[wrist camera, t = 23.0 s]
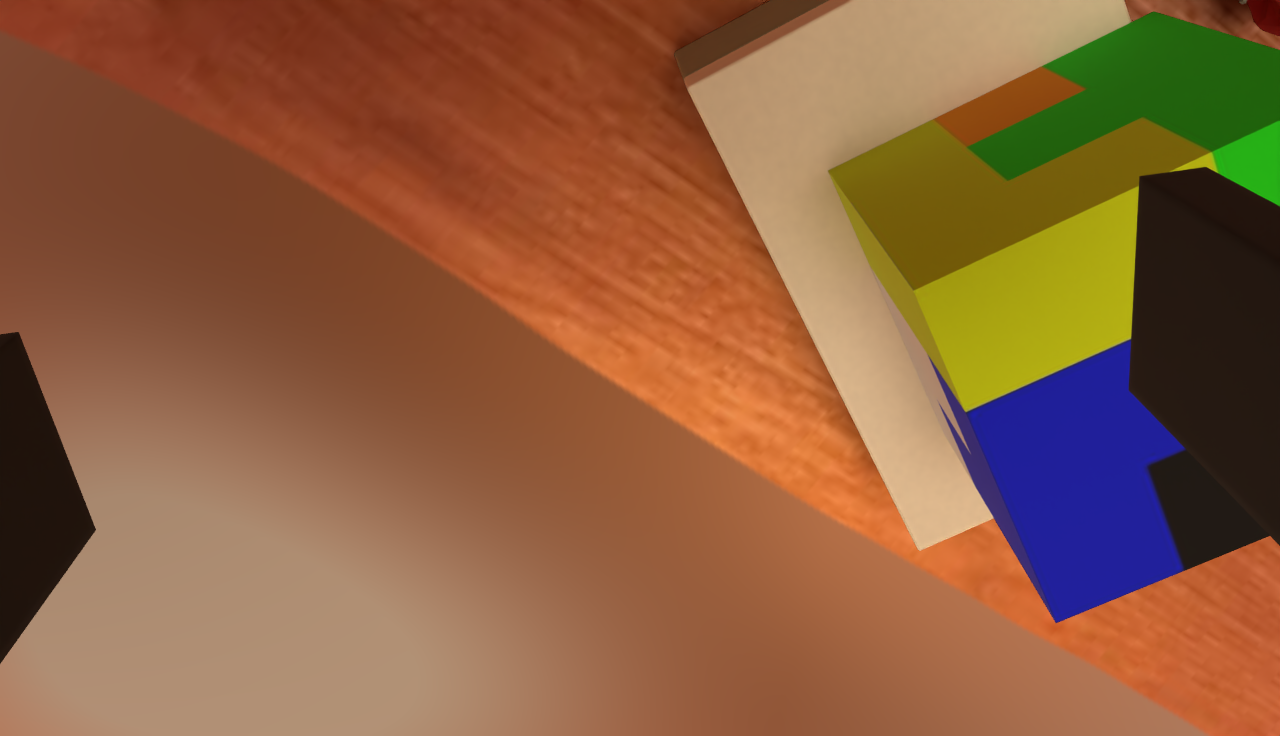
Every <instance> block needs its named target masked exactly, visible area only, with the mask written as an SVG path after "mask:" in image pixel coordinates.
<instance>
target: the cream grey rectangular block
mask: <svg viewBox="0 0 1280 736" xmlns="http://www.w3.org/2000/svg"><path fill="white" fill-rule="evenodd" d="M1129 23H1131V19H1130V16H1129V13H1128V10H1127V7H1126V4H1125V1H1124V0H770V1H768V2H766V3H765V4H763V5H761V6H759V7H757V8H755V9H753V10H752V11H750V12H748V13H746V14H744V15H742V16H740V17H739V18H737V19H735V20H733V21H731V22H729V23H727V24H726V25H724V26H722V27H720V28H718V29H716V30H714V31H713V32H711V33H709V34H707V35H705V36H703V37H701V38H700V39H698V40H696V41H694V42H692V43H690V44H688V45H686V46H685V47H683V48H681V49H679V50H677V51H675V53H674V56H675V59H676V61H677V64H678V67H679V69H680V72H681V74H682V77H683V80H684V82H685V85H686V88H687V90H688V92H689V94H690V96H691V98H692V100H693V102H694V104H695V106H696V108H697V110H698V112H699V114H700V116H701V118H702V120H703V122H704V124H705V126H706V128H707V130H708V132H709V134H710V136H711V138H712V140H713V142H714V144H715V146H716V148H717V150H718V152H719V154H720V156H721V158H722V160H723V162H724V164H725V166H726V168H727V170H728V172H729V174H730V176H731V178H732V180H733V182H734V184H735V186H736V188H737V190H738V192H739V194H740V196H741V198H742V200H743V202H744V204H745V206H746V208H747V210H748V212H749V214H750V216H751V218H752V220H753V222H754V224H755V226H756V228H757V230H758V232H759V234H760V236H761V238H762V240H763V242H764V244H765V246H766V248H767V250H768V252H769V254H770V256H771V258H772V260H773V262H774V264H775V266H776V268H777V270H778V272H779V274H780V276H781V278H782V280H783V282H784V284H785V286H786V288H787V290H788V292H789V294H790V296H791V298H792V300H793V302H794V304H795V306H796V308H797V310H798V312H799V314H800V316H801V318H802V320H803V322H804V324H805V326H806V328H807V330H808V332H809V334H810V336H811V338H812V340H813V342H814V344H815V346H816V348H817V350H818V352H819V354H820V356H821V358H822V360H823V362H824V364H825V366H826V368H827V370H828V372H829V374H830V375H831V377H832V379H833V381H834V383H835V385H836V387H837V389H838V391H839V393H840V395H841V397H842V399H843V401H844V403H845V405H846V407H847V409H848V411H849V413H850V415H851V417H852V419H853V421H854V423H855V425H856V427H857V429H858V431H859V433H860V435H861V437H862V439H863V441H864V443H865V445H866V447H867V449H868V451H869V453H870V455H871V457H872V459H873V461H874V463H875V465H876V467H877V469H878V471H879V473H880V475H881V477H882V479H883V481H884V483H885V485H886V487H887V489H888V491H889V493H890V495H891V497H892V499H893V501H894V503H895V505H896V507H897V509H898V511H899V513H900V515H901V517H902V519H903V521H904V523H905V525H906V527H907V529H908V531H909V533H910V535H911V537H912V539H913V541H914V543H915V545H916V547H917V549H918V550H919V551H920V550H923V549H925V548H928V547H930V546H932V545H934V544H937V543H939V542H941V541H943V540H946V539H948V538H950V537H952V536H955V535H957V534H959V533H962V532H964V531H966V530H968V529H971V528H973V527H975V526H977V525H980V524H982V523H984V522H986V521H989V520H991V519H993V516H992V514H991V512H990V511H989V509H988V507H987V506H986V504H985V502H984V501H983V499H982V497H981V496H980V494H979V492H978V490H977V489H976V487H975V485H974V484H973V482H972V480H971V479H970V477H969V475H968V474H967V472H966V470H965V469H964V467H963V465H962V463H961V462H960V460H959V458H958V457H957V455H956V453H955V452H954V450H953V448H952V447H951V445H950V443H949V442H948V440H947V438H946V436H945V434H944V432H943V430H942V428H941V425H940V423H939V421H938V419H937V416H936V414H935V412H934V410H933V407H932V405H931V403H930V401H929V398H928V396H927V394H926V391H925V389H924V387H923V385H922V382H921V380H920V378H919V376H918V373H917V371H916V369H915V367H914V364H913V362H912V360H911V358H910V355H909V353H908V351H907V349H906V346H905V344H904V342H903V340H902V337H901V335H900V333H899V330H898V328H897V326H896V324H895V321H894V319H893V317H892V315H891V312H890V310H889V308H888V306H887V303H886V301H885V299H884V297H883V294H882V292H881V290H880V288H879V285H878V283H877V281H876V279H875V276H874V274H873V272H872V269H871V267H870V265H869V263H868V260H867V258H866V256H865V254H864V251H863V249H862V247H861V245H860V242H859V240H858V238H857V236H856V233H855V231H854V229H853V227H852V224H851V222H850V220H849V217H848V215H847V213H846V211H845V208H844V206H843V204H842V202H841V199H840V197H839V195H838V193H837V190H836V188H835V186H834V184H833V181H832V179H831V177H830V175H829V172H828V170H830V169H832V168H834V167H836V166H838V165H841V164H843V163H845V162H847V161H849V160H851V159H853V158H855V157H857V156H859V155H861V154H863V153H865V152H867V151H869V150H871V149H873V148H875V147H877V146H879V145H881V144H883V143H886V142H888V141H890V140H892V139H894V138H896V137H898V136H900V135H902V134H904V133H906V132H908V131H910V130H912V129H914V128H916V127H918V126H920V125H922V124H924V123H926V122H928V121H931V120H933V119H935V118H937V117H939V116H941V115H943V114H945V113H947V112H949V111H951V110H953V109H955V108H957V107H959V106H961V105H963V104H965V103H967V102H969V101H971V100H973V99H976V98H978V97H980V96H982V95H984V94H986V93H988V92H990V91H992V90H994V89H996V88H998V87H1000V86H1002V85H1004V84H1006V83H1008V82H1010V81H1012V80H1014V79H1016V78H1018V77H1021V76H1023V75H1025V74H1027V73H1029V72H1031V71H1033V70H1035V69H1037V68H1039V67H1041V66H1043V65H1045V64H1047V63H1049V62H1051V61H1053V60H1055V59H1057V58H1059V57H1061V56H1063V55H1066V54H1068V53H1070V52H1072V51H1074V50H1076V49H1078V48H1080V47H1082V46H1084V45H1086V44H1088V43H1090V42H1092V41H1094V40H1096V39H1098V38H1100V37H1102V36H1104V35H1106V34H1108V33H1111V32H1113V31H1115V30H1117V29H1119V28H1121V27H1123V26H1125V25H1127V24H1129Z"/></svg>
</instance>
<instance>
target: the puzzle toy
mask: <svg viewBox="0 0 1280 736" xmlns="http://www.w3.org/2000/svg"><path fill="white" fill-rule="evenodd" d="M1201 167H1207V168H1209V169H1211V170H1213V171H1215V172H1217V173H1219V174H1220V175H1222V176H1224V177H1226V178H1228V179H1230V180H1232V181H1234V182H1235V183H1237V184H1239V185H1241V186H1243V187H1245V188H1247V189H1248V190H1250V191H1252V192H1254V193H1256V194H1258V195H1260V196H1262V197H1263V198H1265V199H1267V200H1269V201H1271V202H1273V203H1275V204H1276V205H1278V206H1280V50H1278V49H1275V48H1271V47H1268V46H1265V45H1261V44H1258V43H1255V42H1252V41H1248V40H1245V39H1242V38H1239V37H1235V36H1232V35H1229V34H1226V33H1222V32H1219V31H1216V30H1212V29H1209V28H1206V27H1203V26H1199V25H1196V24H1193V23H1190V22H1186V21H1183V20H1180V19H1177V18H1173V17H1170V16H1167V15H1164V14H1160V13H1157V12H1154V11H1153V12H1151V13H1149V14H1147V15H1145V16H1143V17H1141V18H1139V19H1137V20H1135V21H1133V22H1131V23H1129V24H1127V25H1125V26H1123V27H1121V28H1119V29H1117V30H1115V31H1113V32H1111V33H1108V34H1106V35H1104V36H1102V37H1100V38H1098V39H1096V40H1094V41H1092V42H1090V43H1088V44H1086V45H1084V46H1082V47H1080V48H1078V49H1076V50H1074V51H1072V52H1070V53H1068V54H1066V55H1063V56H1061V57H1059V58H1057V59H1055V60H1053V61H1051V62H1049V63H1047V64H1045V65H1043V66H1041V67H1039V68H1037V69H1035V70H1033V71H1031V72H1029V73H1027V74H1025V75H1023V76H1021V77H1018V78H1016V79H1014V80H1012V81H1010V82H1008V83H1006V84H1004V85H1002V86H1000V87H998V88H996V89H994V90H992V91H990V92H988V93H986V94H984V95H982V96H980V97H978V98H976V99H973V100H971V101H969V102H967V103H965V104H963V105H961V106H959V107H957V108H955V109H953V110H951V111H949V112H947V113H945V114H943V115H941V116H939V117H937V118H935V119H933V120H931V121H928V122H926V123H924V124H922V125H920V126H918V127H916V128H914V129H912V130H910V131H908V132H906V133H904V134H902V135H900V136H898V137H896V138H894V139H892V140H890V141H888V142H886V143H883V144H881V145H879V146H877V147H875V148H873V149H871V150H869V151H867V152H865V153H863V154H861V155H859V156H857V157H855V158H853V159H851V160H849V161H847V162H845V163H843V164H841V165H838V166H836V167H834V168H832V169H830V170H828V172H829V175H830V177H831V179H832V181H833V184H834V186H835V188H836V190H837V193H838V195H839V197H840V199H841V202H842V204H843V206H844V208H845V211H846V213H847V215H848V217H849V220H850V222H851V224H852V227H853V229H854V231H855V233H856V236H857V238H858V240H859V242H860V245H861V247H862V249H863V251H864V254H865V256H866V258H867V260H868V263H869V265H870V267H871V269H872V272H873V274H874V276H875V279H876V281H877V283H878V285H879V288H880V290H881V292H882V294H883V297H884V299H885V301H886V303H887V306H888V308H889V310H890V312H891V315H892V317H893V319H894V321H895V324H896V326H897V328H898V330H899V333H900V335H901V337H902V340H903V342H904V344H905V346H906V349H907V351H908V353H909V355H910V358H911V360H912V362H913V364H914V367H915V369H916V371H917V373H918V376H919V378H920V380H921V382H922V385H923V387H924V389H925V391H926V394H927V396H928V398H929V401H930V403H931V405H932V407H933V410H934V412H935V414H936V416H937V419H938V421H939V423H940V425H941V428H942V430H943V432H944V434H945V436H946V438H947V440H948V442H949V443H950V445H951V447H952V448H953V450H954V452H955V453H956V455H957V457H958V458H959V460H960V462H961V463H962V465H963V467H964V469H965V470H966V472H967V474H968V475H969V477H970V479H971V480H972V482H973V484H974V485H975V487H976V489H977V490H978V492H979V494H980V496H981V497H982V499H983V501H984V502H985V504H986V506H987V507H988V509H989V511H990V512H991V514H992V516H993V518H994V519H995V521H996V523H997V524H998V526H999V528H1000V529H1001V531H1002V533H1003V534H1004V536H1005V538H1006V539H1007V541H1008V543H1009V545H1010V546H1011V548H1012V550H1013V551H1014V553H1015V555H1016V556H1017V558H1018V560H1019V561H1020V563H1021V565H1022V567H1023V568H1024V570H1025V572H1026V573H1027V575H1028V577H1029V578H1030V580H1031V582H1032V583H1033V585H1034V587H1035V588H1036V590H1037V592H1038V594H1039V595H1040V597H1041V599H1042V600H1043V602H1044V604H1045V605H1046V607H1047V609H1048V610H1049V612H1050V614H1051V616H1052V617H1053V619H1054V621H1055V622H1056V623H1058V622H1060V621H1062V620H1065V619H1067V618H1070V617H1072V616H1075V615H1077V614H1080V613H1082V612H1084V611H1087V610H1089V609H1092V608H1094V607H1097V606H1099V605H1102V604H1104V603H1106V602H1109V601H1111V600H1114V599H1116V598H1119V597H1121V596H1124V595H1126V594H1129V593H1131V592H1133V591H1136V590H1138V589H1141V588H1143V587H1146V586H1148V585H1151V584H1153V583H1155V582H1158V581H1160V580H1163V579H1165V578H1168V577H1170V576H1173V575H1175V574H1177V573H1180V572H1182V571H1185V570H1187V569H1190V568H1192V567H1195V566H1197V565H1199V564H1202V563H1204V562H1207V561H1209V560H1212V559H1214V558H1217V557H1219V556H1222V555H1224V554H1226V553H1229V552H1231V551H1234V550H1236V549H1239V548H1241V547H1244V546H1246V545H1248V544H1251V543H1253V542H1256V541H1258V540H1261V539H1263V538H1266V537H1268V536H1270V535H1269V534H1268V533H1267V532H1266V531H1265V530H1264V529H1263V528H1262V527H1261V526H1260V525H1259V524H1258V523H1257V522H1256V521H1255V520H1254V519H1253V518H1252V517H1251V516H1250V515H1249V514H1248V513H1247V512H1246V510H1245V509H1244V508H1243V507H1242V506H1241V505H1240V504H1239V503H1238V502H1237V501H1236V500H1235V499H1234V498H1233V497H1232V496H1231V495H1230V494H1229V493H1228V492H1227V491H1226V490H1225V489H1224V488H1223V487H1222V486H1221V485H1220V484H1219V483H1218V482H1217V481H1216V480H1215V479H1214V478H1213V477H1212V476H1211V475H1210V473H1209V472H1208V471H1207V470H1206V469H1205V468H1204V467H1203V466H1202V465H1201V464H1200V463H1199V462H1198V461H1197V460H1196V459H1195V458H1194V457H1193V456H1192V455H1191V454H1190V453H1189V452H1188V451H1187V450H1186V449H1185V448H1184V447H1183V446H1182V445H1181V444H1180V443H1179V442H1178V441H1177V440H1176V439H1175V437H1174V436H1173V435H1172V434H1171V433H1170V432H1169V431H1168V430H1167V429H1166V428H1165V427H1164V426H1163V425H1162V424H1161V423H1160V422H1159V421H1158V420H1157V419H1156V418H1155V417H1154V416H1153V415H1152V414H1151V413H1150V412H1149V411H1148V410H1147V409H1146V408H1145V407H1144V406H1143V405H1142V404H1141V403H1140V402H1139V400H1138V399H1137V398H1136V397H1135V396H1134V395H1133V394H1132V393H1131V392H1130V391H1129V390H1128V389H1129V370H1130V350H1131V330H1132V310H1133V291H1134V271H1135V251H1136V231H1137V212H1138V192H1139V176H1144V175H1151V174H1158V173H1165V172H1172V171H1180V170H1187V169H1194V168H1201Z"/></svg>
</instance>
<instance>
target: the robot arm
mask: <svg viewBox="0 0 1280 736" xmlns="http://www.w3.org/2000/svg"><path fill="white" fill-rule="evenodd" d="M1128 390H1129V391H1130V392H1131V393H1132V394H1133V395H1134V396H1135V397H1136V398H1137V399H1138V400H1139V402H1140V403H1141V404H1142V405H1143V406H1144V407H1145V408H1146V409H1147V410H1148V411H1149V412H1150V413H1151V414H1152V415H1153V416H1154V417H1155V418H1156V419H1157V420H1158V421H1159V422H1160V423H1161V424H1162V425H1163V426H1164V427H1165V428H1166V429H1167V430H1168V431H1169V432H1170V433H1171V434H1172V435H1173V436H1174V437H1175V439H1176V440H1177V441H1178V442H1179V443H1180V444H1181V445H1182V446H1183V447H1184V448H1185V449H1186V450H1187V451H1188V452H1189V453H1190V454H1191V455H1192V456H1193V457H1194V458H1195V459H1196V460H1197V461H1198V462H1199V463H1200V464H1201V465H1202V466H1203V467H1204V468H1205V469H1206V470H1207V471H1208V472H1209V473H1210V475H1211V476H1212V477H1213V478H1214V479H1215V480H1216V481H1217V482H1218V483H1219V484H1220V485H1221V486H1222V487H1223V488H1224V489H1225V490H1226V491H1227V492H1228V493H1229V494H1230V495H1231V496H1232V497H1233V498H1234V499H1235V500H1236V501H1237V502H1238V503H1239V504H1240V505H1241V506H1242V507H1243V508H1244V509H1245V510H1246V512H1247V513H1248V514H1249V515H1250V516H1251V517H1252V518H1253V519H1254V520H1255V521H1256V522H1257V523H1258V524H1259V525H1260V526H1261V527H1262V528H1263V529H1264V530H1265V531H1266V532H1267V533H1268V534H1269V535H1270V536H1271V537H1272V538H1273V539H1274V540H1275V541H1276V542H1277V543H1278V544H1279V545H1280V206H1278V205H1276V204H1275V203H1273V202H1271V201H1269V200H1267V199H1265V198H1263V197H1262V196H1260V195H1258V194H1256V193H1254V192H1252V191H1250V190H1248V189H1247V188H1245V187H1243V186H1241V185H1239V184H1237V183H1235V182H1234V181H1232V180H1230V179H1228V178H1226V177H1224V176H1222V175H1220V174H1219V173H1217V172H1215V171H1213V170H1211V169H1209V168H1207V167H1201V168H1194V169H1187V170H1180V171H1172V172H1165V173H1158V174H1151V175H1144V176H1139V192H1138V212H1137V231H1136V251H1135V271H1134V291H1133V310H1132V330H1131V350H1130V370H1129V389H1128ZM95 530H96V529H95V526H94V524H93V521H92V519H91V516H90V513H89V511H88V508H87V506H86V503H85V501H84V499H83V496H82V493H81V490H80V488H79V485H78V483H77V480H76V478H75V475H74V472H73V470H72V467H71V465H70V462H69V460H68V457H67V455H66V452H65V450H64V447H63V444H62V442H61V439H60V437H59V434H58V432H57V429H56V426H55V424H54V421H53V419H52V416H51V414H50V411H49V409H48V406H47V404H46V401H45V398H44V396H43V393H42V391H41V388H40V385H39V383H38V380H37V378H36V375H35V373H34V370H33V368H32V365H31V362H30V360H29V358H28V355H27V352H26V350H25V347H24V345H23V342H22V339H21V337H20V334H19V332H15V333H8V334H1V335H0V663H1V662H2V661H3V659H4V658H5V656H6V655H7V654H8V652H9V651H10V649H11V648H12V647H13V645H14V644H15V642H16V641H17V639H18V638H19V637H20V635H21V634H22V633H23V631H24V630H25V628H26V627H27V626H28V624H29V623H30V621H31V620H32V619H33V617H34V616H35V614H36V613H37V612H38V610H39V609H40V607H41V606H42V604H43V603H44V602H45V600H46V599H47V597H48V596H49V595H50V593H51V592H52V590H53V589H54V588H55V586H56V585H57V584H58V582H59V581H60V579H61V578H62V577H63V575H64V574H65V573H66V571H67V570H68V568H69V567H70V565H71V564H72V563H73V561H74V560H75V558H76V557H77V555H78V554H79V553H80V552H81V550H82V549H83V547H84V546H85V544H86V543H87V542H88V540H89V539H90V537H91V536H92V535H93V533H94V532H95Z"/></svg>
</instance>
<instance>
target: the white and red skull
mask: <svg viewBox="0 0 1280 736" xmlns="http://www.w3.org/2000/svg"><path fill="white" fill-rule="evenodd" d="M1246 2H1247V4H1248V6H1249V8H1250V11H1251V14H1252V17H1253V20H1254V22H1255V23H1256V25H1257V26H1258V27H1259V28H1260V29H1262V30H1263V31H1266V32H1269V33H1271V34H1274V35H1277V36H1280V0H1240V1H1239V3H1241V4H1245V3H1246Z"/></svg>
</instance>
